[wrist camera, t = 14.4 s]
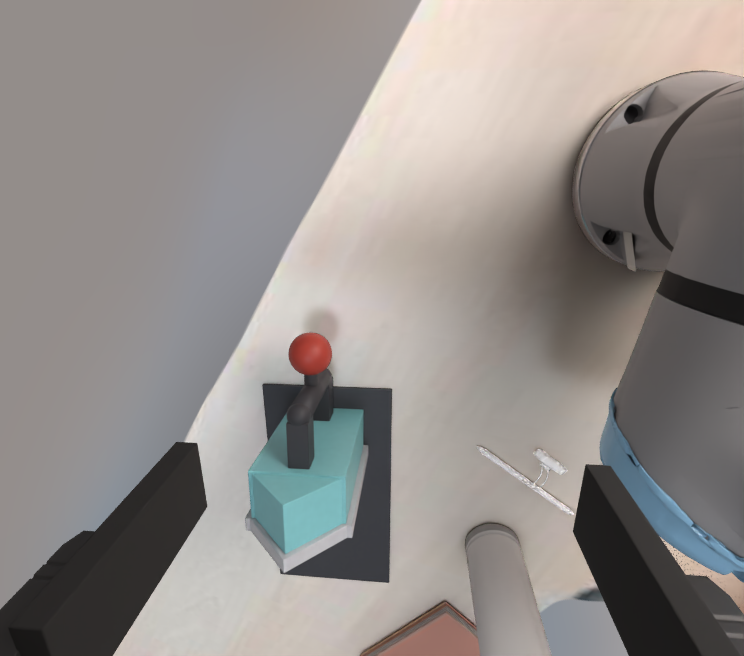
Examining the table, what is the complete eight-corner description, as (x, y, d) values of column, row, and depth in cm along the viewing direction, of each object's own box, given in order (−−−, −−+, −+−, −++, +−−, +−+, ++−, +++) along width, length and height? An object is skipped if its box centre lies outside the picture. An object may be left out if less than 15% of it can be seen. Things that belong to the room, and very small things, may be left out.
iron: (344, 578, 31) (341, 374, 27) (225, 568, 32) (206, 369, 28) (368, 454, 48) (368, 317, 44) (289, 450, 48) (283, 314, 45)
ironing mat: (391, 388, 45) (391, 390, 45) (389, 580, 54) (388, 582, 54) (263, 383, 47) (262, 385, 46) (281, 571, 55) (280, 574, 55)
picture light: (473, 446, 47) (476, 458, 45) (501, 419, 45) (505, 430, 43) (569, 514, 48) (576, 528, 46) (598, 490, 47) (607, 503, 45)
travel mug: (452, 549, 52) (474, 761, 33) (485, 513, 49) (529, 718, 31) (495, 573, 52) (541, 795, 33) (529, 538, 50) (599, 755, 31)
